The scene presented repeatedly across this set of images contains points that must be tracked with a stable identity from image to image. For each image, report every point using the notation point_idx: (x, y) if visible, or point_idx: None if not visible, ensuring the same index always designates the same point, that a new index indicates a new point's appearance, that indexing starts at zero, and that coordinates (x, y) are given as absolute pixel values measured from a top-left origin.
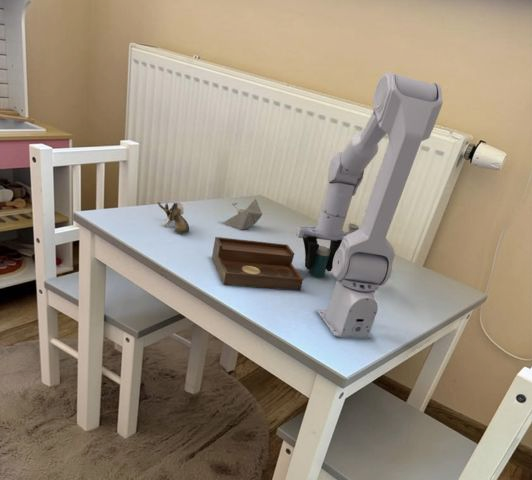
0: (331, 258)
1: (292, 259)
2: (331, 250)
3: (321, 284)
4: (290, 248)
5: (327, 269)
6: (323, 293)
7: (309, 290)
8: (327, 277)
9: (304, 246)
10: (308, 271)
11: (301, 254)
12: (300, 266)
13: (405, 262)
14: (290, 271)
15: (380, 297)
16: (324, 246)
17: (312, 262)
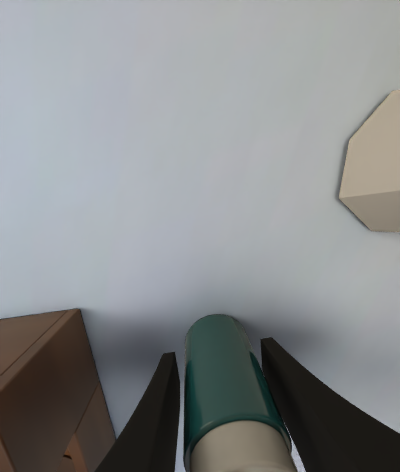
0: (294, 425)
1: (59, 460)
2: (320, 450)
3: None
4: (8, 460)
5: (263, 365)
6: None
7: None
8: (257, 351)
9: (104, 459)
10: (186, 338)
11: (199, 137)
12: (163, 289)
13: None
14: (73, 466)
15: (394, 427)
16: (274, 467)
17: (176, 432)
